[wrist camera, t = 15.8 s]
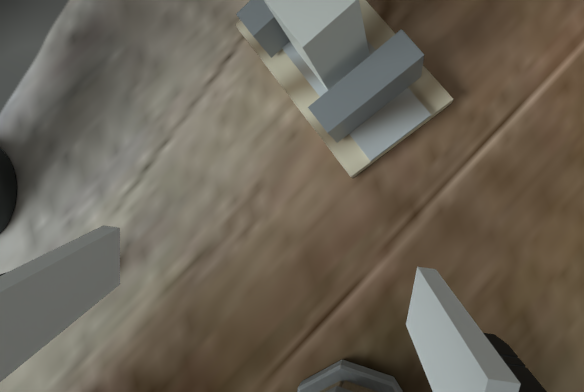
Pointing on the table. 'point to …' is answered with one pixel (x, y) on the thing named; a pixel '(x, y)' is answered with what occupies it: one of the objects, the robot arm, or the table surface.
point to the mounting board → (380, 126)
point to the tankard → (349, 380)
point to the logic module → (324, 34)
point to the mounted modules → (356, 84)
